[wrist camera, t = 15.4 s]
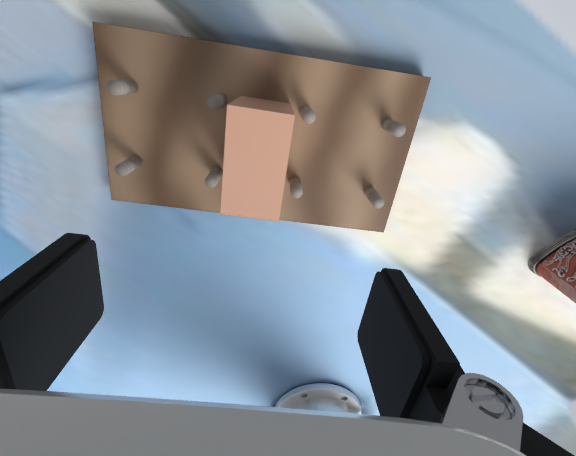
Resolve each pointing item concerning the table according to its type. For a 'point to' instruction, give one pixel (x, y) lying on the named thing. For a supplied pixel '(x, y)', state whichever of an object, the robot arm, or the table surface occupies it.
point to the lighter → (558, 264)
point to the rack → (212, 124)
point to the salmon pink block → (256, 157)
